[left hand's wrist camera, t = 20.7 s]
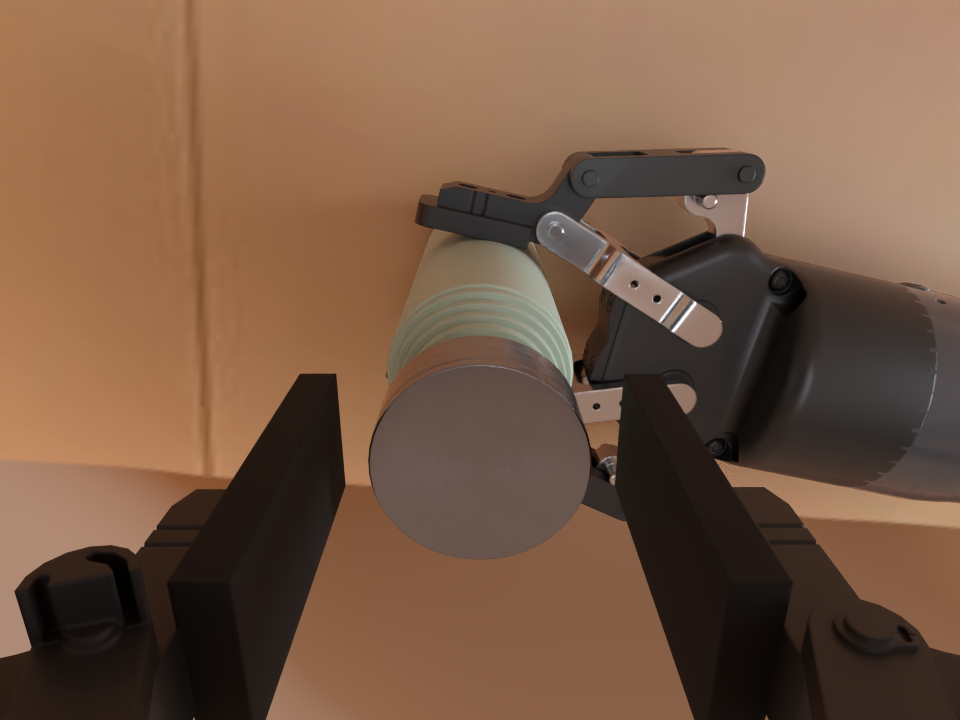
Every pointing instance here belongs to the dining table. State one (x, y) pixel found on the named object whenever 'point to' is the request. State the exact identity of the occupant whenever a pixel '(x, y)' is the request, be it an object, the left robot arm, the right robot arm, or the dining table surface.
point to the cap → (480, 449)
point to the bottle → (479, 301)
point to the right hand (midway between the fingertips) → (405, 288)
